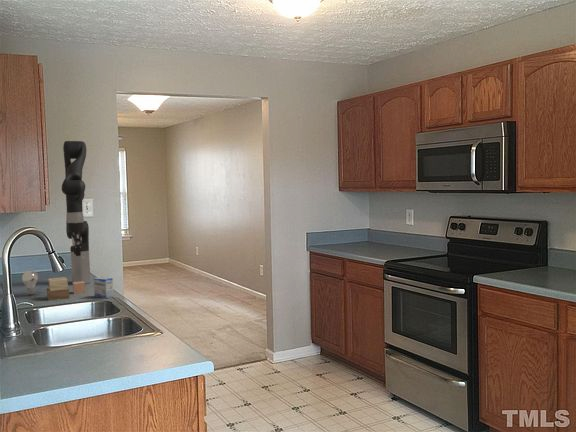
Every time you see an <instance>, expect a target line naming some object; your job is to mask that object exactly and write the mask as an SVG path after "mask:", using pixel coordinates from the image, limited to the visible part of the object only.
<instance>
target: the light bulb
mask: <svg viewBox="0 0 576 432" xmlns="http://www.w3.org/2000/svg"><path fill="white" fill-rule="evenodd" d="M21 278H22V279H21V280H22V282H23V284H24V285H25V288H26V292H27V294H28V295H29V296H33V295H34V294H35V291H36V290H35V288H36V284H37V282H38V281H39V275H38V273H37V272H36V271H35V270H32V269H31V270H30V269H29V270H26V271H24V272H23V274H22V276H21Z"/></svg>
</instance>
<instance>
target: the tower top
mask: <svg viewBox="0 0 576 432" xmlns="http://www.w3.org/2000/svg"><path fill="white" fill-rule="evenodd" d="M48 288H49V290H50V291H54V290H64V289H69V285H68V278H67V277H66V276H65V277H64V276H63V277H54V278H48Z"/></svg>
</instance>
